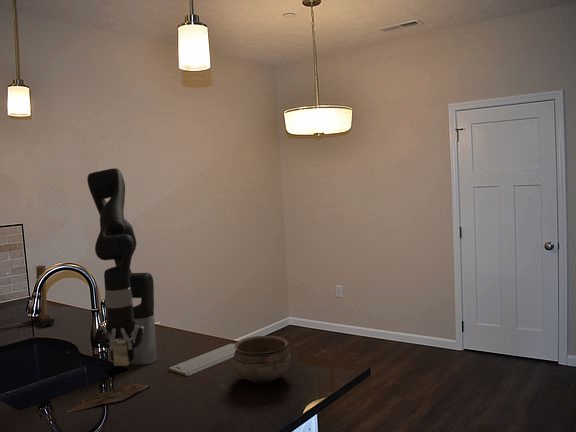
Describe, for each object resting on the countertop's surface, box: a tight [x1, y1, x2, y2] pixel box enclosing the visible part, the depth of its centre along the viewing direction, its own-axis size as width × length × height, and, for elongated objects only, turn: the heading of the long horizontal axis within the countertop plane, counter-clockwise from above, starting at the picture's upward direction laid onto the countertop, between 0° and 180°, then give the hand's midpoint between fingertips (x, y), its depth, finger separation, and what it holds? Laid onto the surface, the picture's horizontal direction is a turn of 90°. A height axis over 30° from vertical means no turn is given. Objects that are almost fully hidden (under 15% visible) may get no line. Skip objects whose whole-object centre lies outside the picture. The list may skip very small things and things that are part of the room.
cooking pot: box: [232, 335, 292, 385], centre depth 171 cm, size 25×19×12 cm
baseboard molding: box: [168, 343, 236, 377], centre depth 192 cm, size 31×3×12 cm
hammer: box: [32, 265, 56, 328], centre depth 253 cm, size 20×5×30 cm, turn 42°
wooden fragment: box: [66, 383, 151, 414], centre depth 163 cm, size 26×11×1 cm, turn 127°
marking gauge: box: [113, 340, 135, 367], centre depth 156 cm, size 12×4×6 cm, turn 176°
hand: (123, 361), depth 152 cm, fingers closed on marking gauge, 4 cm apart
